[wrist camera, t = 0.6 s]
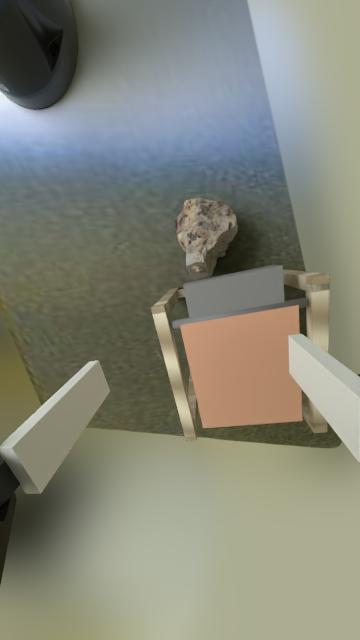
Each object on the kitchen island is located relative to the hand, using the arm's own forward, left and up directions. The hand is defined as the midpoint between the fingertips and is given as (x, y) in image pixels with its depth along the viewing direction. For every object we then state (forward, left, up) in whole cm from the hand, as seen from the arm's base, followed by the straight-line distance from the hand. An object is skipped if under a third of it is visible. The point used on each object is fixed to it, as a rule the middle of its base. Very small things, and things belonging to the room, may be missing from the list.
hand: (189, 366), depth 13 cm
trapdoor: (+5, +5, -11) cm, 13 cm away
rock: (-10, +4, -23) cm, 25 cm away
